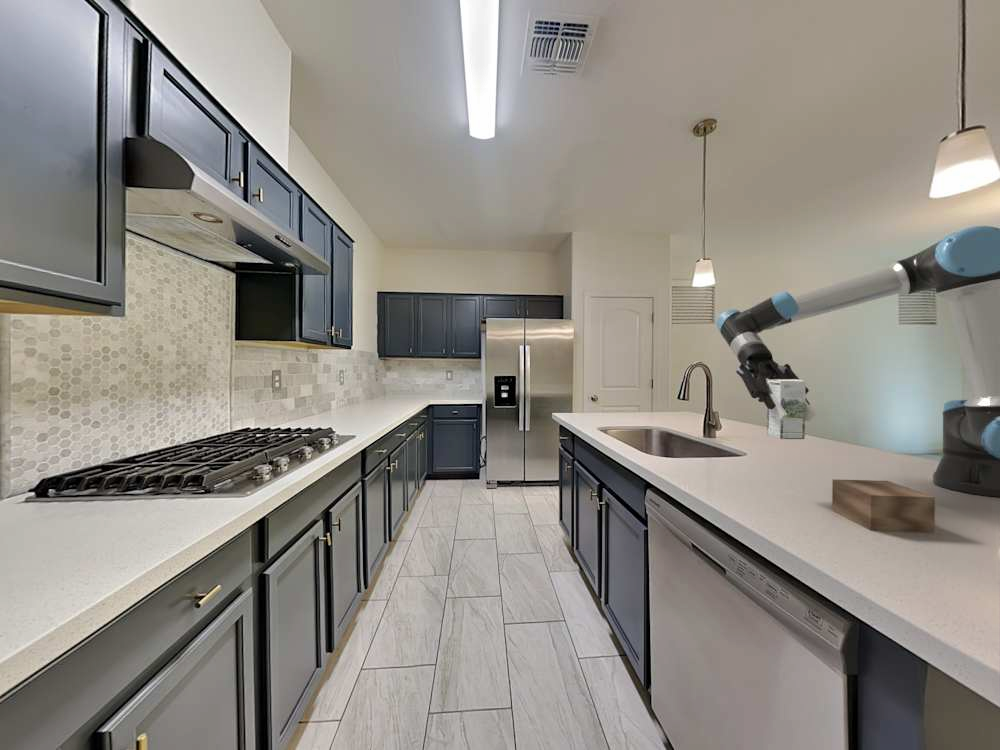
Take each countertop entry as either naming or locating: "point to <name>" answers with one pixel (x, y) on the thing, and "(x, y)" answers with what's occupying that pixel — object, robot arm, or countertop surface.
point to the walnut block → (884, 506)
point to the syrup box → (788, 409)
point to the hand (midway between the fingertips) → (797, 417)
